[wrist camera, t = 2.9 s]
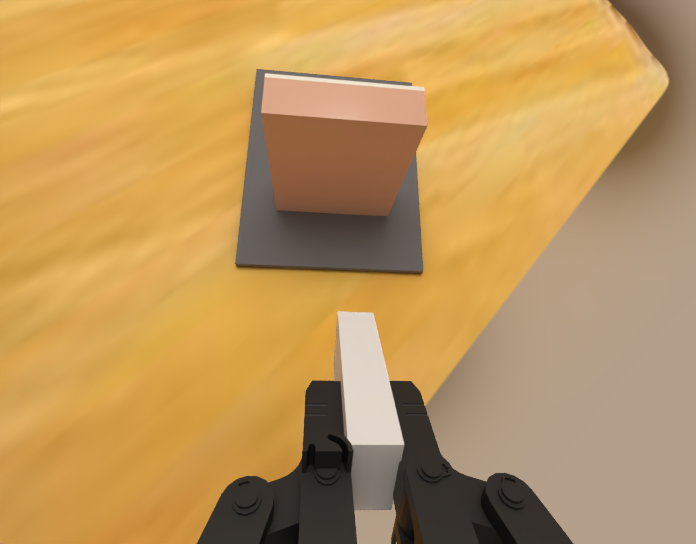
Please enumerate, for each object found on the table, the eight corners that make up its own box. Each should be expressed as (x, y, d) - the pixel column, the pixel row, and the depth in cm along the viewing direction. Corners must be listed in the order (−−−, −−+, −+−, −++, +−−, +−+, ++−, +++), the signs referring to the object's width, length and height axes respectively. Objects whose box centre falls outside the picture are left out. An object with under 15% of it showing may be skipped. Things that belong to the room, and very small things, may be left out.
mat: (236, 265, 32) (235, 263, 32) (257, 73, 39) (256, 69, 39) (421, 273, 34) (423, 271, 33) (410, 87, 41) (411, 82, 40)
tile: (276, 210, 34) (261, 112, 22) (278, 180, 35) (265, 73, 23) (387, 216, 35) (427, 125, 23) (386, 187, 36) (424, 87, 24)
